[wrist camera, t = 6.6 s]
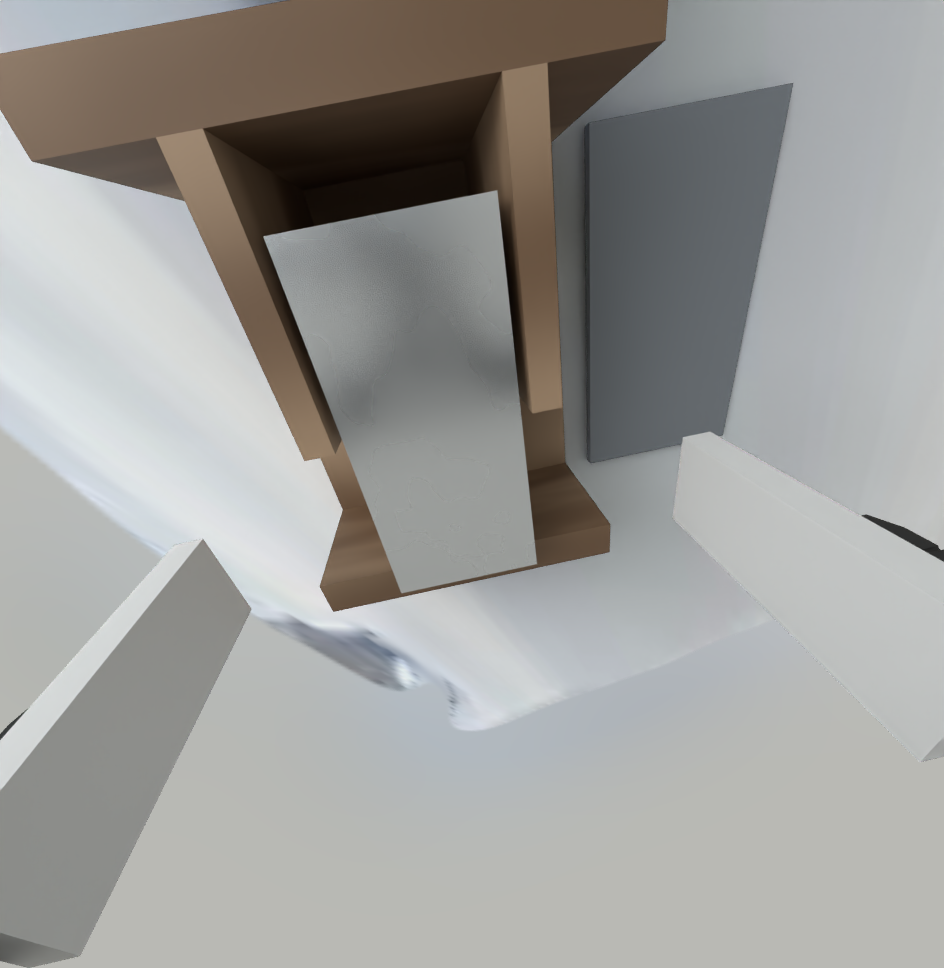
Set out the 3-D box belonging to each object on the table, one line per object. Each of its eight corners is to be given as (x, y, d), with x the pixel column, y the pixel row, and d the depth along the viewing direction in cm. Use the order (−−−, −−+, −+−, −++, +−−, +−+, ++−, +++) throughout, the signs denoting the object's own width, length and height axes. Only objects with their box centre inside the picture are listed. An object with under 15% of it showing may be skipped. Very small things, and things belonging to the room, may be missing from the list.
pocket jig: (207, 166, 12) (-31, 59, 6) (540, 102, 12) (673, -72, 6) (355, 520, 20) (325, 645, 13) (560, 477, 20) (627, 579, 13)
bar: (308, 243, 10) (263, 236, 7) (474, 211, 10) (497, 190, 7) (404, 529, 15) (401, 593, 12) (513, 505, 15) (536, 564, 12)
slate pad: (585, 126, 13) (589, 122, 12) (783, 87, 13) (793, 82, 13) (587, 459, 19) (590, 463, 19) (717, 432, 20) (722, 435, 19)
